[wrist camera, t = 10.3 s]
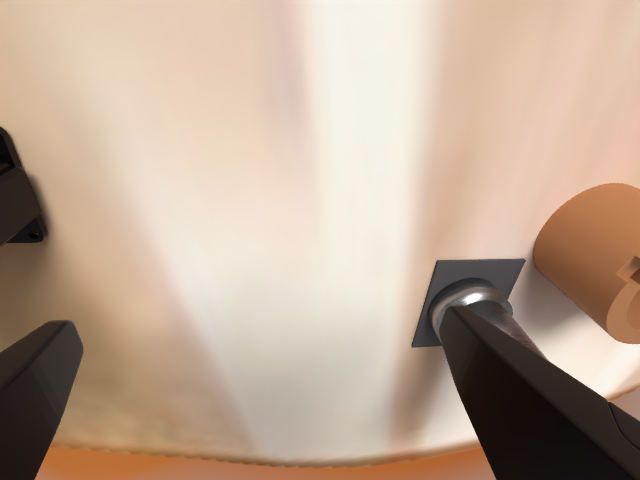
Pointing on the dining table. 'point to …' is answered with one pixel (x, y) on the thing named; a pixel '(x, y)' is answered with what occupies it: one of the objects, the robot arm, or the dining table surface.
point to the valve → (478, 307)
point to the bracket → (597, 256)
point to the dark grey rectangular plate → (450, 271)
